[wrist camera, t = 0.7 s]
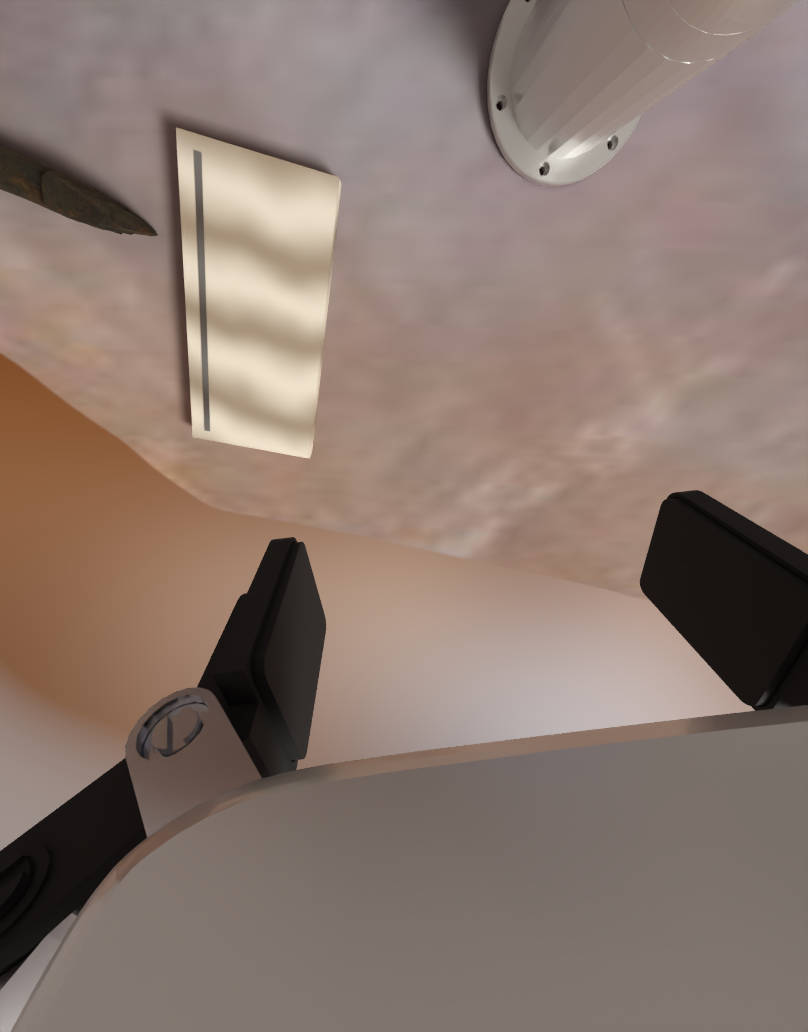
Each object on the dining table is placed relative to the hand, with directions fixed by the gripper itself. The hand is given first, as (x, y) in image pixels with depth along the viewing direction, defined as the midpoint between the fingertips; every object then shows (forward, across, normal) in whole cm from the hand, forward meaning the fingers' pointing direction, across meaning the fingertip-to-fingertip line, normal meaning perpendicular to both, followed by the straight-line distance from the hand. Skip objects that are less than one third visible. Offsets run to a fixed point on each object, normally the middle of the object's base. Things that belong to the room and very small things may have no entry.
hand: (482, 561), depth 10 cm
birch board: (+33, +13, -5) cm, 36 cm away
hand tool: (+34, +28, -18) cm, 47 cm away
